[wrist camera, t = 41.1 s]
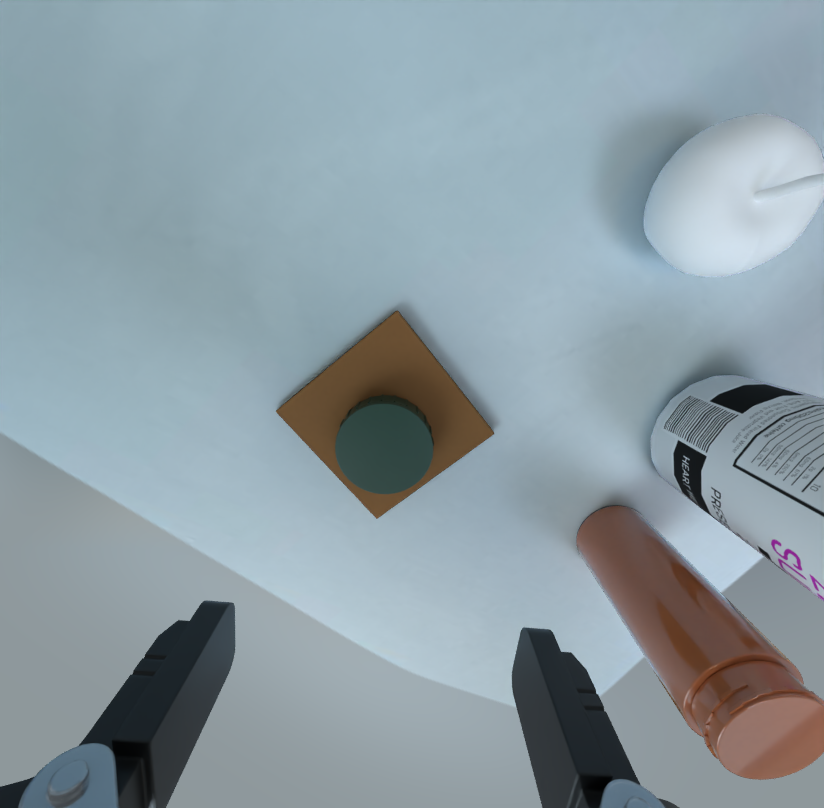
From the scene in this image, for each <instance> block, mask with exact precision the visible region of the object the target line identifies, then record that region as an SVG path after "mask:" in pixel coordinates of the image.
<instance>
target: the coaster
mask: <svg viewBox="0 0 824 808" xmlns="http://www.w3.org/2000/svg"><path fill="white" fill-rule="evenodd" d="M382 394H384V395H390V396H394V395H396V397H400V398H403V399H405V400H406V399H407V400H408V401H409V402H411V403H412V404H414V405H415V406H418V409H419V410H420V411H421V412H422V413H423V414H424V415H426V419H427V421H428V423H429V426H430V425H431V429H432V434H431V435H432V437H433V441H434V446H433V458H432V461H431V464H430V467H429V469H428V471H427V472H426V474H425V475H424V476H423V478H422V479H421V480H420V481H419V482H417V483H416V484H415V485H414V486H412V487H411V488H409V489H407V490H404V491H402V492H398V493H394V494H376V493H372V492H368V491H365V490H363V489H361V488H359V487H357V486H356V485H355V484H353V483H352V482H351V481H350V480H349V479H348V478H347V477H346V476H345V475H344V474H343V472H342V470H341V469H340V467H339V465H338V462H337V459H336V454H335V443H336V436H337V433H338V431H339V429H340V427H339V426H340V424H341V422H342V420H343V419H345V417H346V415H347V413H348V411H349V410H350V409H352V408H353V407H354V406H355V405H357V404H358V402H359V401H360V402H361V401H363V400H365V399H368V398H369V397H370V396H371V397H374V396H381V395H382ZM276 412H277V413H278V414H279V416H280V417H281V418H282V419H283V420H284V421H285V422H286V423H287V424H288V425H289V426H290V427H291V428H292V429H293V430H294V431H295V433H296V434H297V435H298V436H299V437H300V438H301V439H302V440H303V441H304V442H305V443H306V444H307V445H308V446H309V447H310V448H311V449H312V451H313V452H314V453H315V454H316V455H317V456H318V457H319V458H320V459H321V460H322V461H323V462H324V463H325V464H326V465H327V466H328V468H329V469H330V470H331V471H332V472H333V473H334V474H335V475H336V476H337V477H338V478H339V479H340V480H341V481H342V482H343V483H344V485H345V486H346V487H347V488H348V489H349V490H350V491H351V492H352V493H353V494H354V495H355V496H356V497H357V498H358V499H359V500H360V501H361V503H362V504H363V505H364V506H365V507H366V508H367V509H368V510H369V511H370V512H371V513H372V514H373V515H374V516H375V517H376V518H379V517H380V516H381V515H383V514H384V513H386V512H387V511H388V510H390V509H391V508H393V507H394V506H395V505H397V504H398V503H399V502H401V501H402V500H404V499H405V498H406V497H408V496H409V495H410V494H412V493H413V492H415V491H416V490H417V489H419V488H420V487H422V486H423V485H424V484H426V483H427V482H428V481H430V480H431V479H433V478H434V477H435V476H437V475H438V474H439V473H441V472H442V471H444V470H445V469H446V468H448V467H449V466H451V465H452V464H453V463H455V462H456V461H457V460H459V459H460V458H462V457H463V456H464V455H466V454H467V453H468V452H470V451H471V450H473V449H474V448H475V447H477V446H478V445H480V444H481V443H482V442H484V441H485V440H486V439H488V438H489V437H491V436H492V435H493V434H494V432H493V430H492V429H491V427H490V426H489V425H488V424H487V422H486V421H485V420H484V419H483V417H482V416H481V415H480V414H479V412H478V411H477V410H476V409H475V407H474V406H473V405H472V404H471V402H470V401H469V400H468V398H467V397H466V396H465V395H464V393H463V392H462V391H461V390H460V388H459V387H458V386H457V385H456V383H455V382H454V381H453V380H452V378H451V377H450V376H449V375H448V373H447V372H446V371H445V369H444V368H443V367H442V366H441V364H440V363H439V362H438V361H437V359H436V358H435V357H434V356H433V354H432V353H431V352H430V351H429V349H428V348H427V347H426V345H425V344H424V343H423V342H422V340H421V339H420V338H419V337H418V335H417V334H416V333H415V332H414V330H413V329H412V328H411V327H410V325H409V324H408V323H407V322H406V320H405V319H404V318H403V316H402V315H401V314H400V313H399V311H396V312H394V313H393V314H392V315H391V316H390V317H388V318H387V319H386V320H385V321H384V322H382V323H381V324H380V325H379V326H377V327H376V328H375V329H374V330H373V331H371V332H370V333H369V334H368V335H367V336H365V337H364V338H363V339H362V340H361V341H359V342H358V343H357V344H356V345H355V346H353V347H352V348H351V349H350V350H349V351H347V352H346V353H345V354H344V355H342V356H341V357H340V358H339V359H338V360H336V361H335V362H334V363H333V364H332V365H330V366H329V367H328V368H327V369H326V370H324V371H323V372H322V373H321V374H320V375H318V376H317V377H316V378H315V379H314V380H312V381H311V382H310V383H309V384H307V385H306V386H305V387H304V388H303V389H301V390H300V391H299V392H298V393H297V394H295V395H294V396H293V397H292V398H291V399H289V400H288V401H287V402H286V403H285V404H283V405H282V406H281V407H280V408H279V409H277V410H276Z"/></svg>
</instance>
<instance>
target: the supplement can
mask: <svg viewBox="0 0 824 808" xmlns="http://www.w3.org/2000/svg"><path fill="white" fill-rule="evenodd" d="M651 459H652V461H653V463H654V465H655V467H656V469H657V471H658V473H659V475H660V476H661V477H662V478H663V479H664V480H665V481H667V482H668V483H669V484H670V485H671V486H673V487H674V488H675V489H676V490H678V491H679V492H680V493H682V494H683V495H684V496H686V497H687V498H688V499H690V500H691V501H692V502H694V503H695V504H696V505H698V506H699V507H700V508H701V509H703V510H704V511H705V512H707V513H708V514H709V515H711V516H712V517H713V518H715V519H716V520H717V521H719V522H720V523H721V524H722V525H724V526H725V527H726V528H728V529H729V530H730V531H732V532H733V533H734V534H736V535H737V536H738V537H740V538H741V539H742V540H744V541H745V542H746V543H747V544H749V545H750V546H751V547H753V548H754V549H755V550H757V551H758V552H759V553H761V554H762V555H763V556H765V557H766V558H767V559H769V560H770V561H771V562H772V563H774V564H775V565H776V566H778V567H779V568H780V569H782V570H783V571H784V572H786V573H787V574H788V575H790V576H791V577H792V578H794V579H795V580H796V581H797V582H799V583H800V584H802V585H803V586H804V587H805V588H807V589H808V590H809V591H811V592H812V593H813V594H815V595H816V596H817V597H818V598H820V599H821V600H823V601H824V399H823V398H819V397H816V396H812V395H808V394H805V393H801V392H797V391H794V390H790V389H786V388H783V387H779V386H775V385H772V384H768V383H764V382H761V381H757V380H753V379H750V378H746V377H742V376H739V375H726V376H713V377H710V378H707V379H704V380H702V381H699V382H696V383H693V384H691V385H690V386H688V387H687V388H686V389H684V390H683V391H682V392H680V393H679V394H678V395H676V396H675V397H674V398H672V399H671V400H670V402H669V403H668V404H667V406H666V407H665V408H664V410H663V411H662V412H661V414H660V415H659V417H658V418H657V421H656V424H655V427H654V430H653V433H652V436H651Z"/></svg>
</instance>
